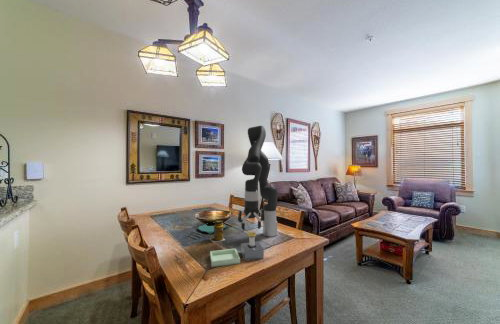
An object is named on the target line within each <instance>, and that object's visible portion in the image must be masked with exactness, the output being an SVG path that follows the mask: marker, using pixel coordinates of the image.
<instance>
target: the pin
mask: <svg viewBox="0 0 500 324" xmlns="http://www.w3.org/2000/svg"><path fill="white" fill-rule="evenodd" d="M247 236H248V243H249V248H255V242H256V241H255V240H256V236H257V233H256V232H255V231H249V232H247Z"/></svg>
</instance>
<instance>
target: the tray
mask: <svg viewBox="0 0 500 324" xmlns="http://www.w3.org/2000/svg"><path fill="white" fill-rule="evenodd" d="M209 259H210V264H211V268H215V267H222V266H223V267H225V266H231V265H238V264H241V257H240V254H239V252H238V250H237V248H228V249H219V250H209Z"/></svg>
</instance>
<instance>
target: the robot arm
mask: <svg viewBox="0 0 500 324" xmlns="http://www.w3.org/2000/svg"><path fill="white" fill-rule="evenodd" d="M266 133H267V132H266V129H265V127H264V126H263V125H255V126H251V127H248V128H247V137H248V141H249V143H250V148H249V149H248V153H247V157H246V158H245V161H244V162H243V164H242V166H241V167H242V168H241V172H242V174H243V175H244V176H254V178H251V179H250V178H249V179H247V180H245V185H244V186H245V187H244V209H243V210H240V209H238V214H237V215H238V216H237V217H238V218H237V222H239V223H240V224H241V229H242V230H243V231H245V228H246V227H245V226H246V225H245V222H246V221H247V220H248V219H257V229H258V230H260V229H261V228H262V235H263V236H265V237H275V236H278V220H277V208H278V207H277V206H278V196H279V195H278V189H277V187H275V186H271V185H269V184H268V180H267V179H268V175H269V173H270V161H269V158H268V156H267V155H266V154H265V153H264V152H263V151H262V149H263V146H264V143H265V139H266V136H267V135H266ZM259 193H260V196H261V198H262V199H263V200H267V203H266V204H264V205H263V206H262V208H261V209H259V198H260V197H259ZM259 213H260V217H259V215H258V214H259ZM243 215H244V216H243ZM242 216H243V218H242Z"/></svg>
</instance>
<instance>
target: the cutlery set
mask: <svg viewBox="0 0 500 324" xmlns="http://www.w3.org/2000/svg"><path fill="white" fill-rule="evenodd" d="M206 224H207V223H205V224H202V225H199V226H197V231H199V232H197V231H193V230H192V231H189V232H187V233H185V234H184V236H186V237H190V238H192V239H195V240H198V238H202V237H206V235H205V234H202V233H208V234H209V235H212V234H214V226H207V225H206ZM224 229H226V224H224V223H223V230H224ZM200 232H202V233H200Z"/></svg>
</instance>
